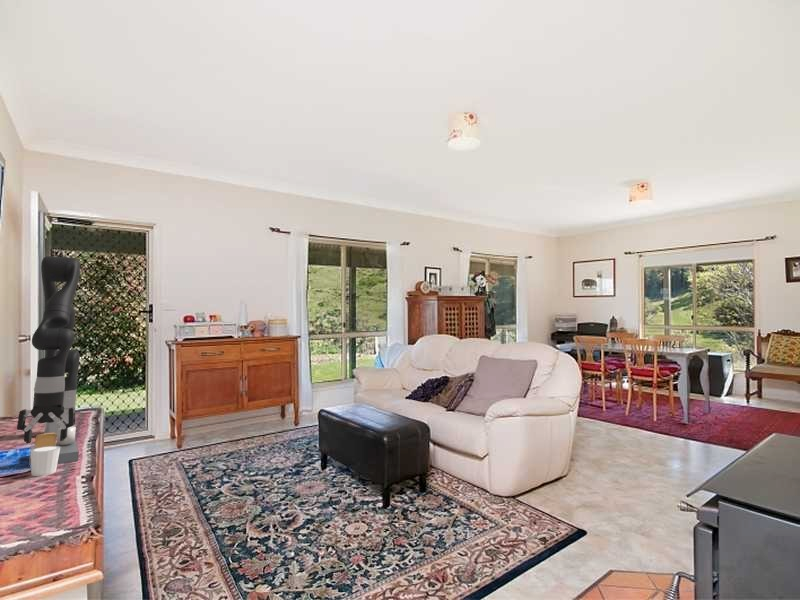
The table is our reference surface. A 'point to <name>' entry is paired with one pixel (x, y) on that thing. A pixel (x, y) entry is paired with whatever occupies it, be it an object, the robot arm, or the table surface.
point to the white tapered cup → (44, 460)
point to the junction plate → (65, 447)
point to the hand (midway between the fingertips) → (45, 441)
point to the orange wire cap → (45, 440)
